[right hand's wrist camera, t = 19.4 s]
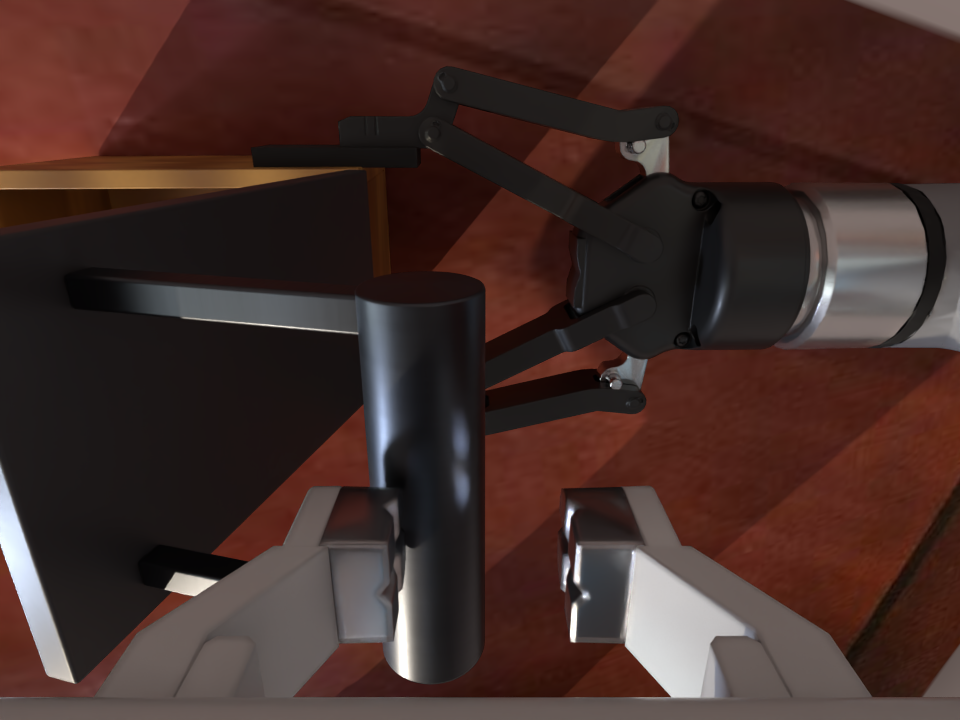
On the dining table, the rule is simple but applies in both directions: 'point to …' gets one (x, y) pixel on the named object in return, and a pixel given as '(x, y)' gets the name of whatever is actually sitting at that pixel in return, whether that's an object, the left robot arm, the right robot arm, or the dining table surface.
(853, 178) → the dining table surface
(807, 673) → the right robot arm
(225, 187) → the chest
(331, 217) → the lid
